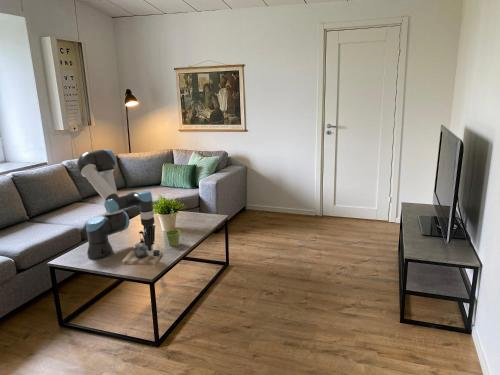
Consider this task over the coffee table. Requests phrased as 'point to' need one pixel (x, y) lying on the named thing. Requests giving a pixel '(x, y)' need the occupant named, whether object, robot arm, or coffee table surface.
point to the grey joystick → (141, 241)
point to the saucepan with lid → (144, 251)
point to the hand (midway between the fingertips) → (151, 254)
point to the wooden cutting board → (140, 259)
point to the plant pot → (173, 237)
